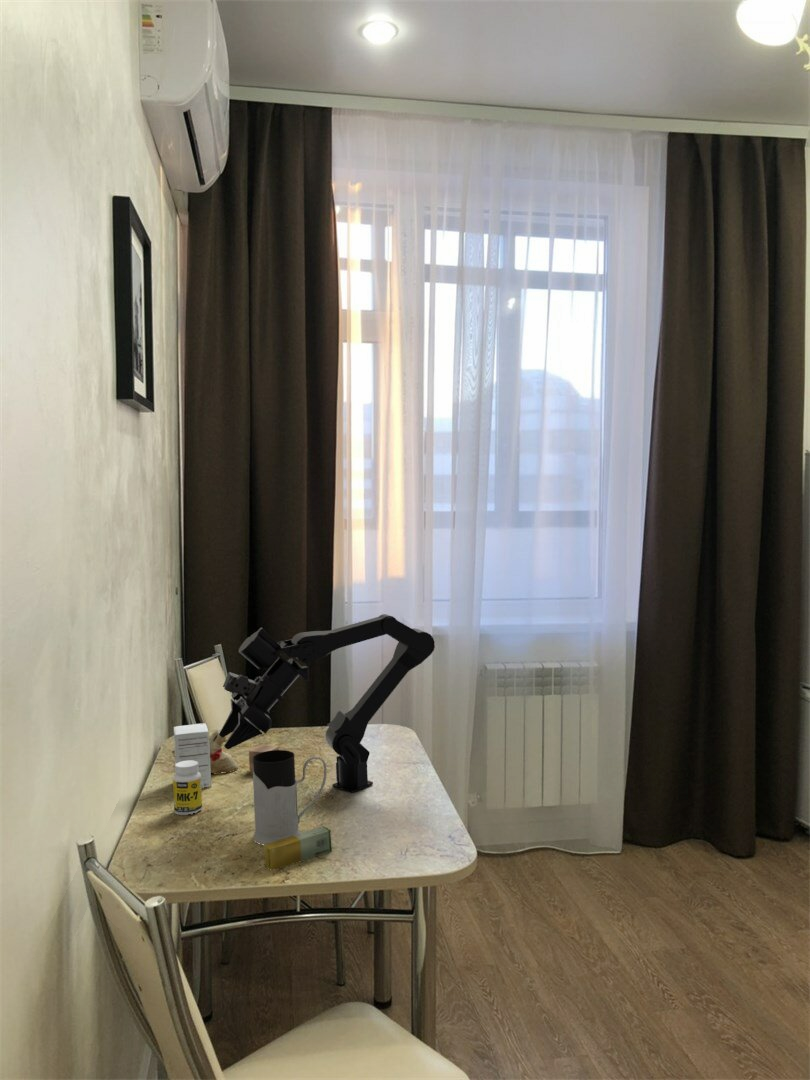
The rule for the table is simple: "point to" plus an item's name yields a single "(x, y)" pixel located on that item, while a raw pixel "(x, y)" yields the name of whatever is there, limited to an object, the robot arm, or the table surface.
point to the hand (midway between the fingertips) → (223, 741)
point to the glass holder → (277, 795)
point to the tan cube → (259, 750)
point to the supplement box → (194, 748)
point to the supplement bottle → (187, 788)
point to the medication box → (297, 848)
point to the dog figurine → (220, 755)
